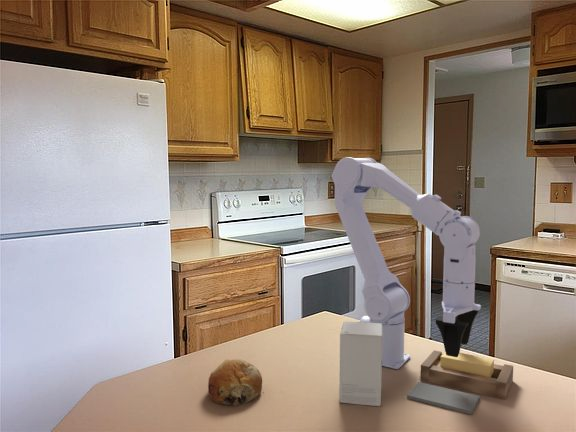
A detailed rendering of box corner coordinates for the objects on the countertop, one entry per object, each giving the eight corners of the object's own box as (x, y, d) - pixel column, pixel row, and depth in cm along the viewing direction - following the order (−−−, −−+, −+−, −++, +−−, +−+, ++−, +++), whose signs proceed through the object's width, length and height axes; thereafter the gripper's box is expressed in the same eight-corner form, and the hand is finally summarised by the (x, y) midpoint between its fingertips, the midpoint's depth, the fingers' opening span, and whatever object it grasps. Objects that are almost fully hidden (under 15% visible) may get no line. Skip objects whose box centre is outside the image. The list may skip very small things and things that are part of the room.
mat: (407, 398, 87) (407, 395, 87) (418, 384, 93) (418, 381, 93) (471, 414, 81) (471, 411, 81) (479, 399, 87) (479, 396, 87)
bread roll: (266, 408, 91) (273, 364, 94) (246, 409, 82) (254, 360, 85) (219, 400, 94) (226, 358, 97) (194, 400, 85) (203, 353, 88)
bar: (440, 369, 95) (440, 356, 95) (445, 362, 98) (446, 350, 98) (489, 379, 90) (490, 366, 90) (493, 371, 94) (494, 359, 93)
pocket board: (420, 380, 95) (420, 365, 94) (433, 364, 102) (433, 350, 102) (505, 399, 87) (506, 383, 86) (512, 380, 94) (513, 365, 94)
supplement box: (381, 407, 84) (382, 335, 83) (338, 403, 86) (338, 333, 84) (381, 388, 91) (382, 322, 90) (342, 384, 93) (342, 320, 92)
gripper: (472, 291, 85) (470, 366, 87) (488, 275, 98) (486, 341, 99) (432, 286, 89) (430, 358, 90) (452, 271, 101) (450, 335, 103)
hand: (457, 349), depth 95 cm, fingers open, 7 cm apart
